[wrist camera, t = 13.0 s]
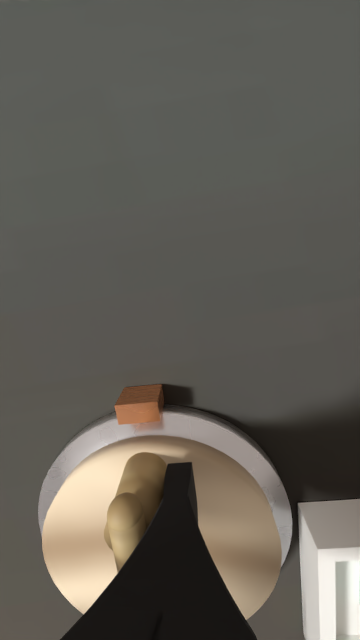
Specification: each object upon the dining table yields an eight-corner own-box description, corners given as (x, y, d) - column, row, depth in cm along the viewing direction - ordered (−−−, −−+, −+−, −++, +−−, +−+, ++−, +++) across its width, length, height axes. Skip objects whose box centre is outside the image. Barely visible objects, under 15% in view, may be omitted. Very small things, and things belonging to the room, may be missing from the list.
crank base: (291, 597, 17) (302, 636, 15) (75, 605, 18) (62, 643, 16) (278, 372, 14) (291, 388, 12) (16, 398, 15) (-8, 417, 13)
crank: (278, 612, 15) (317, 774, 10) (76, 616, 16) (26, 769, 11) (269, 412, 13) (317, 506, 8) (28, 429, 14) (-64, 524, 9)
